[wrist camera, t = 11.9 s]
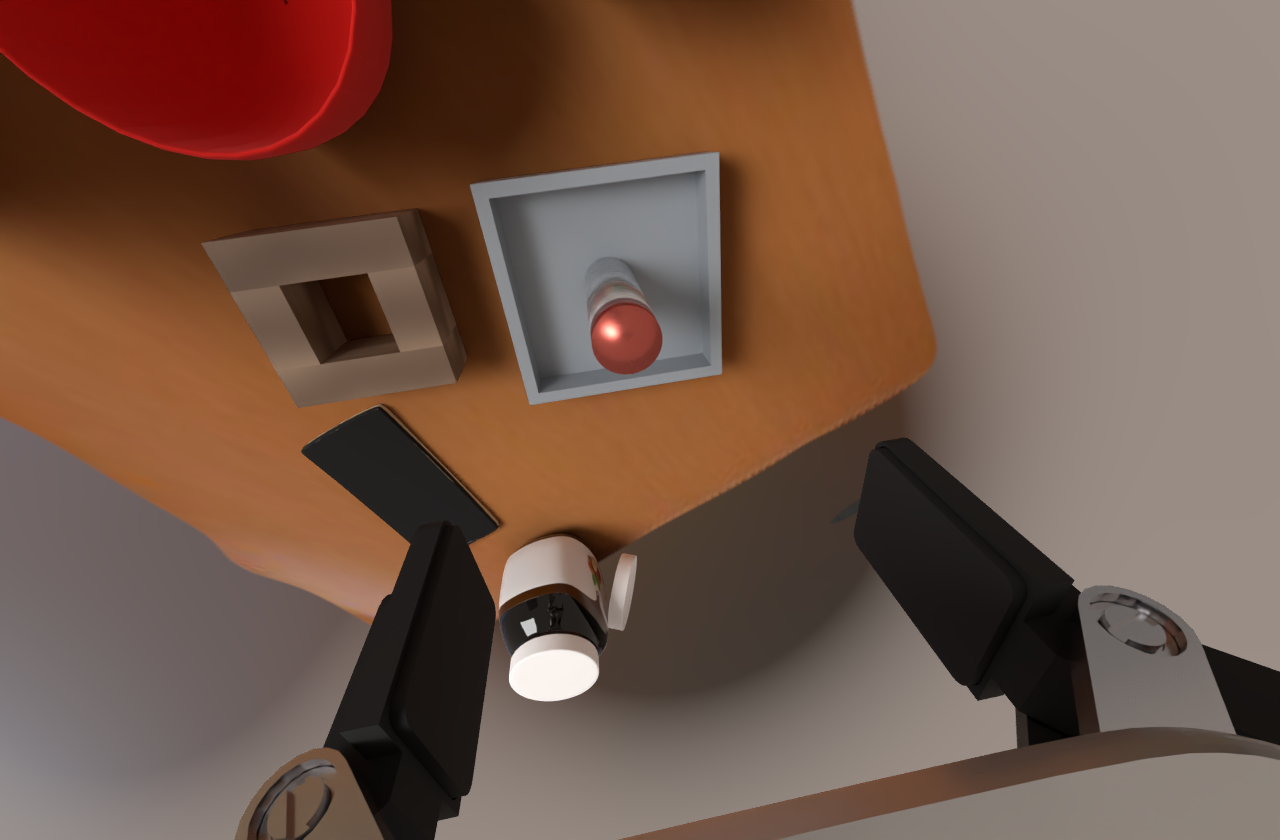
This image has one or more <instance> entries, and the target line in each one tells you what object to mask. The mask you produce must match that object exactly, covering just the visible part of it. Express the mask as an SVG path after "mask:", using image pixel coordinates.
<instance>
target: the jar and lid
mask: <svg viewBox="0 0 1280 840" xmlns="http://www.w3.org/2000/svg"><path fill="white" fill-rule="evenodd" d="M636 566H637V556H636V555H631V554H626V553H622V555H621V557H620V559H619V562H618V565H617V569H616V573H615V577H614V581H613V586H612V591H611V597H610V604H609V611H608V618H607V606H606V596H605V589H604V583H603V579H602V574H601V571H600V568H599V565H598V562H597V559H596V557H595V555H594V553H593V551H592V550H591V548H590V547H589V546H588V545H587V543H585V542H584V541H583V540H581V539H580V538H578V537H576V536H573V535H570V534H552V535H547V536H543V537H540V538H537V539H535V540H532V541H530V542H528V543H527V544H525V545H523V546H522V547H520V548H519V549H517V550H516V551H515V552H514V553H513V554H512V555H511V556H510V557H509V559H508V561H507V563H506V565H505V569H504V573H503V579H502V585H501V592H500V600H499V623H500V628H501V632H502V636H503V639H504V642H505V644H506V647H507V649H508V652H509V654H510V655H511V658H512V659H511V666H510V674H509V682H510V685H511V687H512V688H513V689H514V690H515V692H517V693H518V694H520V695H521V696H524V697H526V698H529V699H533V700H539V701H558V700H563V699H568V698H571V697H574V696H577V695H579V694H581V693H583V692H584V691H586V690H588V689H589V688H590V687H591V686H592V685H593V684H594V683H595V682H596V680H597V678H598V675H599V661H598V656H599V655H600V654H601V653H602V652H603V650H604V649H605V646H606V644H607V640H608V627H609V628H613V629H618V630H622V631H623V630H624V628H625V624H626V622H627V618H628V613H629V609H630V605H631V600H632V594H633V589H634V582H635V575H636Z"/></svg>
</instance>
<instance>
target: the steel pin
mask: <svg viewBox="0 0 1280 840" xmlns="http://www.w3.org/2000/svg"><path fill="white" fill-rule="evenodd" d="M584 287H585V295H586V303H587V311H588V319H589V327H590V335H591V343H592V349H593V353H594V355H595V357H596V359H597V360H598V362H599V363H600V364H601V365H602V366H603V367H604V368H606V369H607V370H609V371H611V372H614V373H617V374H623V375H628V374H635V373H638V372H641V371H643V370H645V369H646V368H648V367H649V366H650V365H651V364H652V363H653V362H654V361H655V360H656V359H657V357H658V355H659V353H660V351H661V348H662V342H663V336H662V331H661V328H660V326H659V324H658V322H657V320H656V318H655V316H654V314H653V312H652V310H651V308H650V306H649V304H648V302H647V300H646V298H645V296H644V295H643V293H642V291H641V289H640V287H639V285H638V283H637V281H636V279H635V277H634V275H633V273H632V271H631V269H630V268H629V266H628V265H627V264H626V263H625V262H623V261H622V260H620V259H618V258H614V257H604V258H600V259H598V260H596V261H595V262H593V263H592V264H591V265H590V267H589V268H588V269H587V271H586V274H585V278H584Z"/></svg>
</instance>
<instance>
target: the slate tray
mask: <svg viewBox="0 0 1280 840" xmlns="http://www.w3.org/2000/svg"><path fill="white" fill-rule="evenodd" d="M470 188H471V192H472V195H473V199H474V202H475V206H476V210H477V213H478V217H479V221H480V224H481V228H482V232H483V235H484V239H485V243H486V246H487V250H488V254H489V257H490V261H491V265H492V268H493V272H494V276H495V279H496V283H497V287H498V290H499V294H500V297H501V301H502V305H503V308H504V312H505V316H506V319H507V323H508V327H509V330H510V334H511V338H512V341H513V345H514V349H515V352H516V356H517V360H518V363H519V367H520V371H521V374H522V378H523V382H524V385H525V389H526V393H527V396H528V400H529V403H530V405H534V404H540V403H546V402H552V401H559V400H565V399H571V398H577V397H583V396H589V395H596V394H602V393H608V392H614V391H620V390H626V389H633V388H639V387H645V386H651V385H657V384H663V383H670V382H676V381H682V380H688V379H694V378H700V377H706V376H713V375H719V374H722V332H721V257H720V182H719V152H698V153H690V154H682V155H675V156H667V157H659V158H652V159H644V160H636V161H629V162H621V163H613V164H606V165H598V166H590V167H583V168H575V169H567V170H560V171H552V172H544V173H537V174H529V175H521V176H514V177H506V178H499V179H491V180H483V181H478V182H475V183H472V184H470ZM604 257H614V258H618V259H620V260H622V261H623V262H625V263H626V264H627V265H628V266H629V268H630V269H631V271H632V273H633V275H634V277H635V279H636V281H637V283H638V285H639V287H640V289H641V291H642V293H643V295H644V296H645V298H646V300H647V302H648V304H649V306H650V308H651V310H652V312H653V314H654V316H655V318H656V320H657V322H658V324H659V326H660V328H661V331H662V336H663V342H662V348H661V351H660V353H659V355H658V357H657V359H656V360H655V361H654V362H653V363H652V364H651V365H650V366H649V367H648V368H646V369H645V370H643V371H641V372H638V373H635V374H628V375H623V374H617V373H614V372H611V371H609V370H607V369H606V368H604V367H603V366H602V365H601V364H600V363H599V362H598V360H597V359H596V357H595V355H594V353H593V349H592V343H591V335H590V327H589V319H588V311H587V303H586V295H585V287H584V278H585V274H586V271H587V269H588V268H589V267H590V265H591V264H592V263H593V262H595V261H596V260H598V259H600V258H604Z"/></svg>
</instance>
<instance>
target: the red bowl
mask: <svg viewBox="0 0 1280 840" xmlns="http://www.w3.org/2000/svg"><path fill="white" fill-rule="evenodd" d="M392 40H393V32H392V9H391V0H0V52H1V53H2V54H3V55H4V56H6V57H7V58H8V59H9V60H10V61H11V62H12V63H14V64H15V65H16V66H17V67H18V68H19V69H20V70H22V71H23V72H24V73H25V74H26V75H27V76H28V77H30V78H31V79H33V80H34V81H35V82H37V83H38V84H40V85H41V86H43V87H44V88H45V89H47V90H48V91H50V92H51V93H53V94H54V95H55V96H57V97H58V98H60V99H61V100H63V101H64V102H65V103H67V104H68V105H70V106H71V107H73V108H74V109H75V110H77V111H79V112H81V113H83V114H85V115H87V116H88V117H90V118H92V119H94V120H96V121H98V122H100V123H102V124H103V125H105V126H107V127H109V128H111V129H113V130H115V131H116V132H118V133H120V134H123V135H125V136H128V137H131V138H133V139H136V140H139V141H142V142H144V143H147V144H150V145H152V146H155V147H158V148H160V149H163V150H166V151H170V152H175V153H180V154H185V155H190V156H195V157H200V158H205V159H213V160H258V159H265V158H270V157H275V156H280V155H285V154H289V153H294V152H299V151H304V150H308V149H311V148H314V147H316V146H319V145H321V144H323V143H325V142H327V141H329V140H331V139H333V138H335V137H337V136H339V135H341V134H342V133H344V132H346V131H347V130H348V129H349V128H350V127H351V126H352V125H353V124H355V123H356V122H357V121H358V120H359V119H360V118H361V117H362V116H363V115H365V113H366V112H367V110H368V109H369V107H370V106H371V104H372V103H373V101H374V100H375V98H376V97H377V95H378V94H379V92H380V90H381V87H382V84H383V82H384V79H385V76H386V73H387V70H388V68H389V62H390V55H391V47H392Z"/></svg>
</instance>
